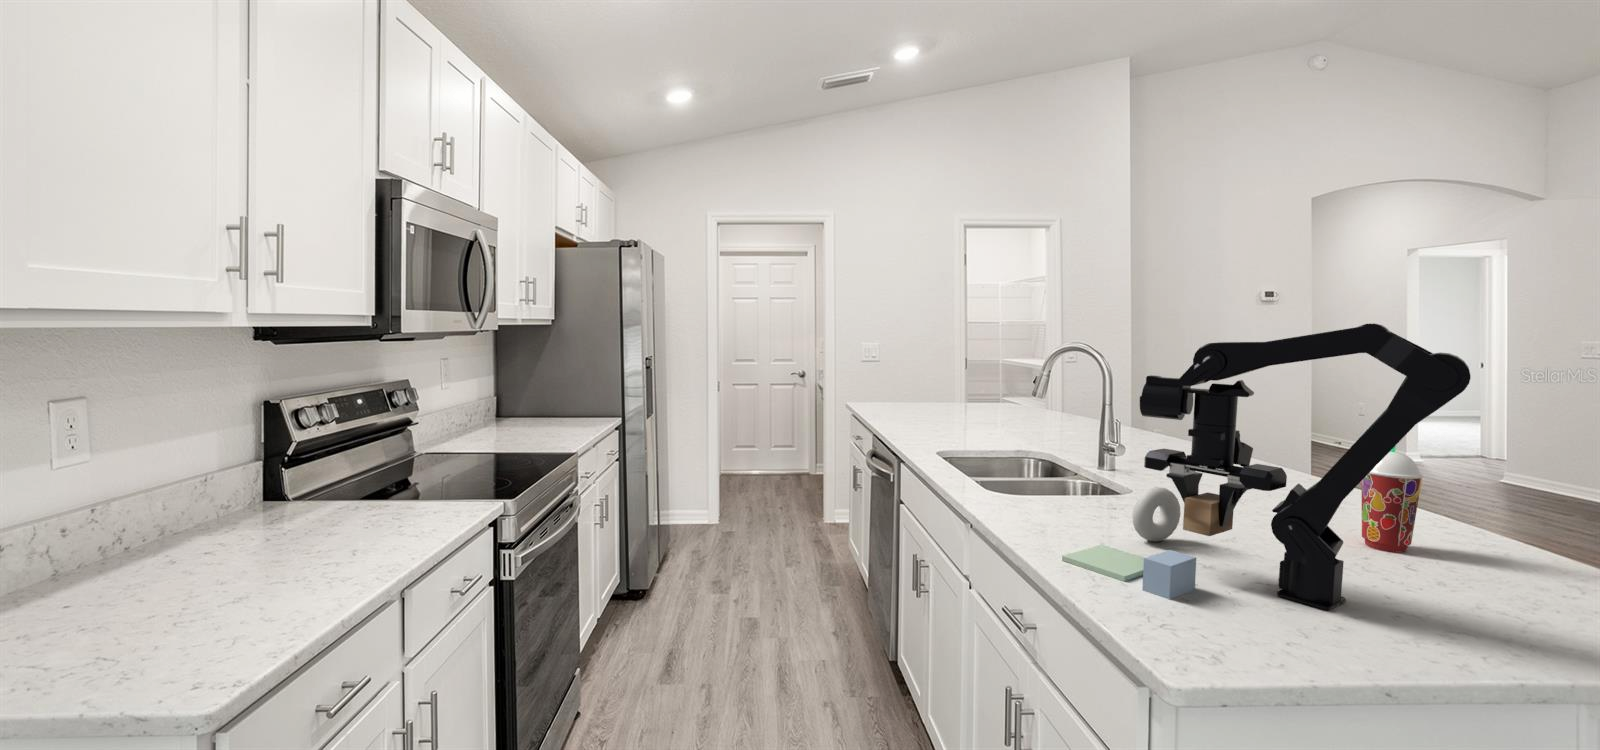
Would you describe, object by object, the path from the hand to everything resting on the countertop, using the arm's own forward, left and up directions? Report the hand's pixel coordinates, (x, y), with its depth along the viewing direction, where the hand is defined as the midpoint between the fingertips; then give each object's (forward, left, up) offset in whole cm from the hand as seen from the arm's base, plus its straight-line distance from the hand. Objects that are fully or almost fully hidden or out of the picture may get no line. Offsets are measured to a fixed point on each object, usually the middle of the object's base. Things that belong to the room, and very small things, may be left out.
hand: (1208, 522), depth 110 cm
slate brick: (0, +11, -9) cm, 14 cm away
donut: (+14, -10, -9) cm, 19 cm away
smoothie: (-10, -42, -9) cm, 44 cm away
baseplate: (+11, +8, -8) cm, 16 cm away
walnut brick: (0, 0, -1) cm, 1 cm away
